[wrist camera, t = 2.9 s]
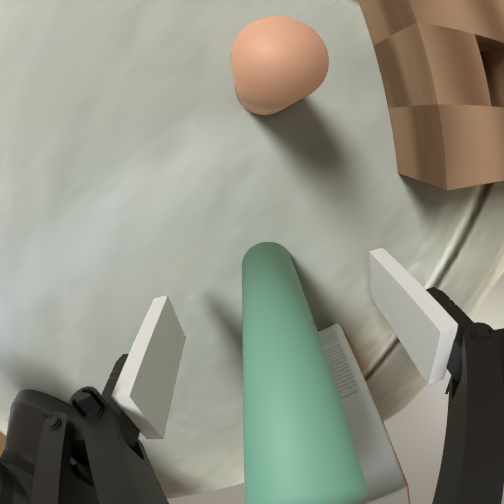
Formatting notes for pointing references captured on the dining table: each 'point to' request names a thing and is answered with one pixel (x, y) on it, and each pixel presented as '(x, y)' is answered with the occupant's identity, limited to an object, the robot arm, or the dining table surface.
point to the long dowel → (290, 394)
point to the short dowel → (277, 63)
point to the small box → (364, 423)
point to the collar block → (443, 86)
